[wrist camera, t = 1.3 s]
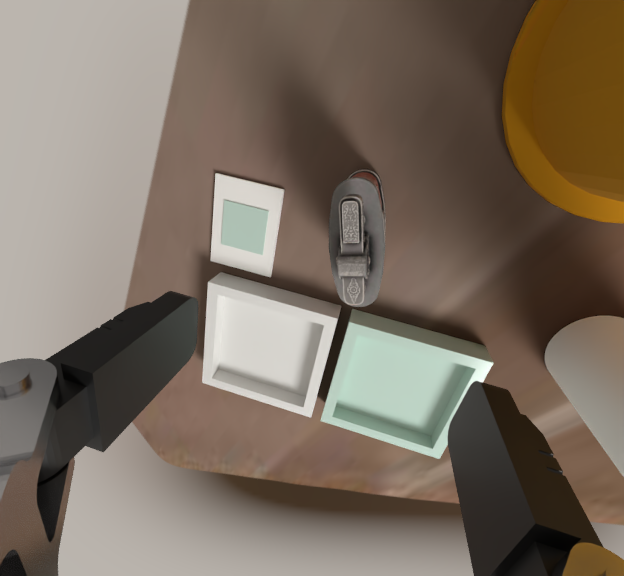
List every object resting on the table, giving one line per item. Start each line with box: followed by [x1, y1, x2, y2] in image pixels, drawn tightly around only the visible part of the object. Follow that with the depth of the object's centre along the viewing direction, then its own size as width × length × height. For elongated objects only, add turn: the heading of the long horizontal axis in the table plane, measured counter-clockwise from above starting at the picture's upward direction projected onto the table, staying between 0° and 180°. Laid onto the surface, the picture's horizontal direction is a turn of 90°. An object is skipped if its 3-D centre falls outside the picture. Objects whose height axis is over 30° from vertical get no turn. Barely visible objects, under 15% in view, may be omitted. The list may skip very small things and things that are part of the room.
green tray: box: [321, 309, 493, 459], centre depth 30 cm, size 12×12×2 cm
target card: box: [210, 173, 285, 277], centre depth 28 cm, size 8×6×1 cm
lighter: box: [329, 169, 386, 307], centre depth 22 cm, size 8×3×10 cm, turn 5°
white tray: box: [202, 272, 341, 418], centre depth 32 cm, size 12×12×2 cm
